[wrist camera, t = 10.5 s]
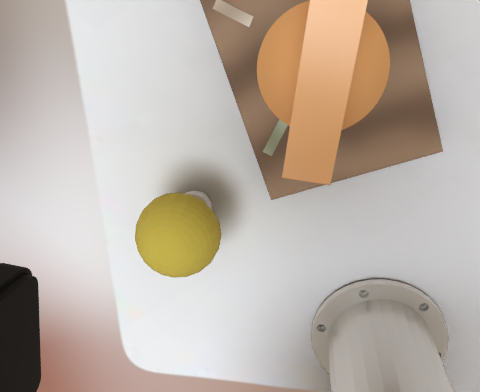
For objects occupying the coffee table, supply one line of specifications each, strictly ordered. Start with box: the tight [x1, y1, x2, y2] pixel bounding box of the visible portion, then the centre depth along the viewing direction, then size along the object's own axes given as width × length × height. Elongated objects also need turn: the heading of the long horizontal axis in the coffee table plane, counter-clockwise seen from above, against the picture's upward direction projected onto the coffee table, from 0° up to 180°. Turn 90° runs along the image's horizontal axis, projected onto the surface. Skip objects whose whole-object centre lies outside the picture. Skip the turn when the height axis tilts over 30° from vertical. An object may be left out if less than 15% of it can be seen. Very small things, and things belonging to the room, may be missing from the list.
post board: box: [200, 0, 443, 200], centre depth 32 cm, size 20×14×8 cm
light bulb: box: [135, 191, 221, 277], centre depth 37 cm, size 7×7×10 cm
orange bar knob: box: [257, 0, 390, 185], centre depth 24 cm, size 11×7×8 cm, turn 174°
